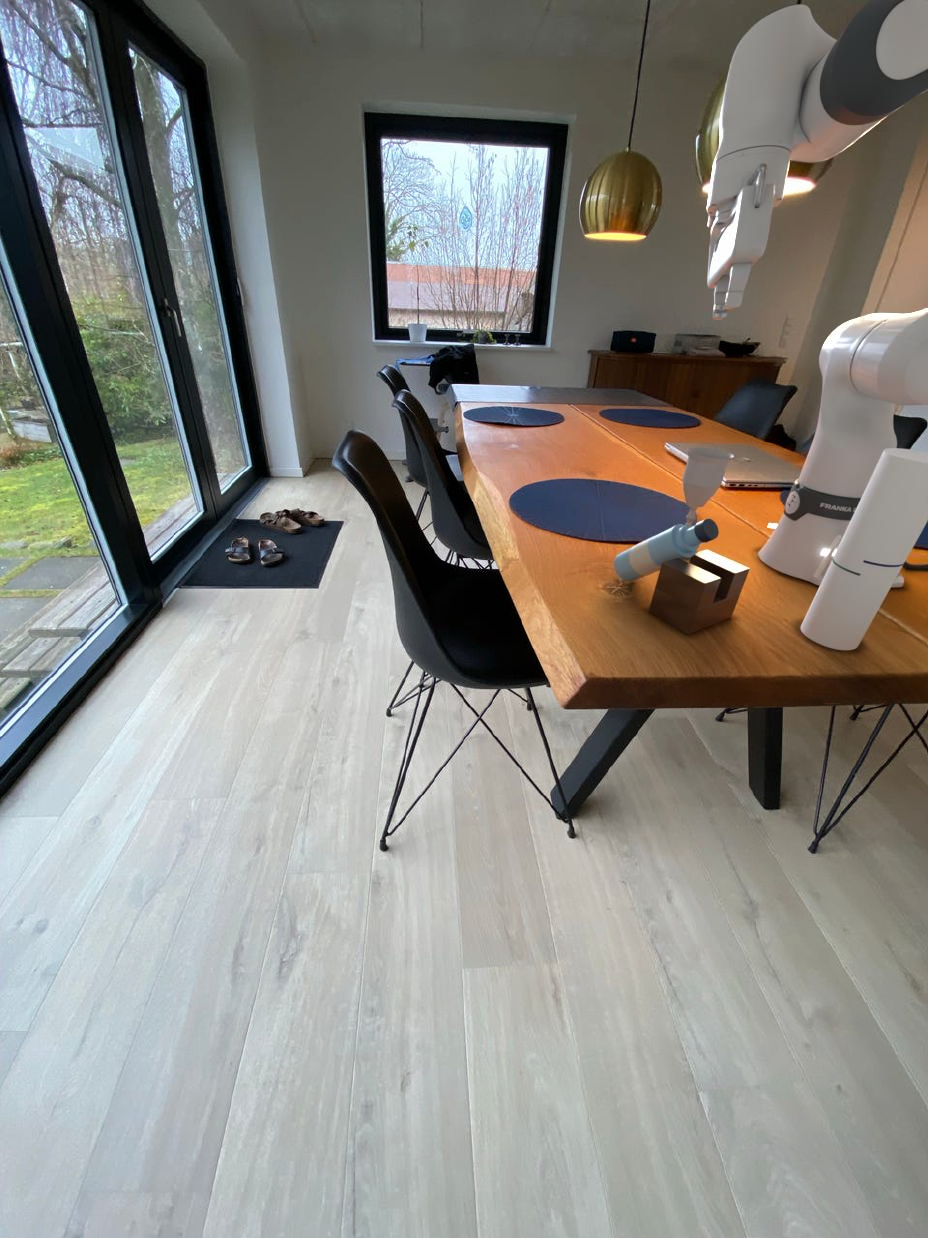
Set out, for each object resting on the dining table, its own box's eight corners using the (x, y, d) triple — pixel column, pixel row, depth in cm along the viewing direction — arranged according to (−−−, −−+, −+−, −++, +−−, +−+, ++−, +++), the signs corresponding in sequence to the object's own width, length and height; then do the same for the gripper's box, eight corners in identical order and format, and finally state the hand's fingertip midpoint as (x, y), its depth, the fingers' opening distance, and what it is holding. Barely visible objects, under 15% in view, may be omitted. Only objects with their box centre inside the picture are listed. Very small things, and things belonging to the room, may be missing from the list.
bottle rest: (648, 611, 77) (662, 562, 72) (691, 596, 81) (706, 549, 77) (687, 634, 72) (705, 583, 67) (731, 617, 76) (750, 568, 72)
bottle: (604, 575, 86) (625, 490, 78) (626, 569, 88) (649, 486, 80) (675, 619, 76) (708, 527, 68) (697, 611, 78) (731, 521, 70)
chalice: (700, 548, 97) (732, 450, 88) (702, 563, 92) (735, 460, 82) (660, 541, 99) (686, 445, 90) (659, 555, 94) (687, 454, 84)
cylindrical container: (859, 656, 69) (964, 468, 56) (799, 638, 72) (885, 456, 59) (857, 632, 74) (954, 455, 61) (801, 616, 78) (882, 445, 64)
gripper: (798, 152, 57) (770, 299, 62) (754, 213, 75) (735, 323, 80) (735, 159, 58) (713, 301, 64) (707, 217, 77) (691, 324, 82)
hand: (725, 313), depth 72 cm, fingers open, 8 cm apart
